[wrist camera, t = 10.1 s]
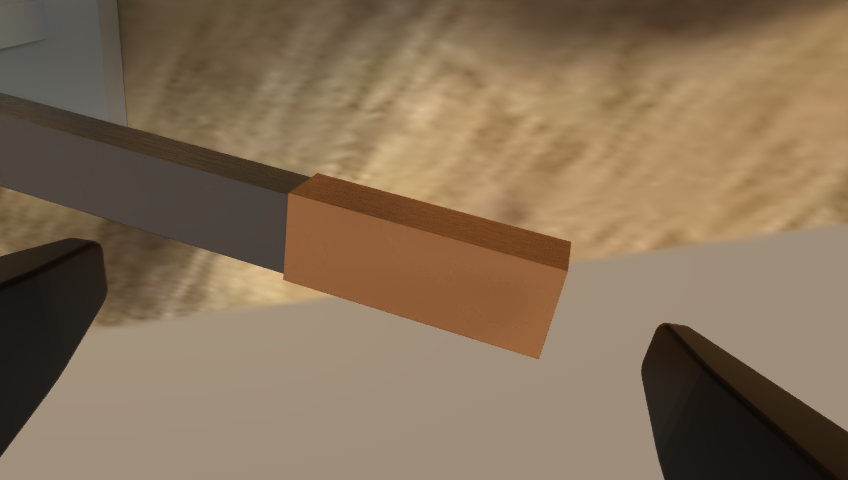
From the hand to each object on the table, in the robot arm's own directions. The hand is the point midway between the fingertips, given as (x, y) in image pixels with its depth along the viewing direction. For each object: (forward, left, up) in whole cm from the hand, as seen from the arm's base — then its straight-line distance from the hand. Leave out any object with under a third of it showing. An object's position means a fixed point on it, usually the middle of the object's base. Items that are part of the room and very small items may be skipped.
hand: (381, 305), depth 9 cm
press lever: (+9, +1, -8) cm, 12 cm away
